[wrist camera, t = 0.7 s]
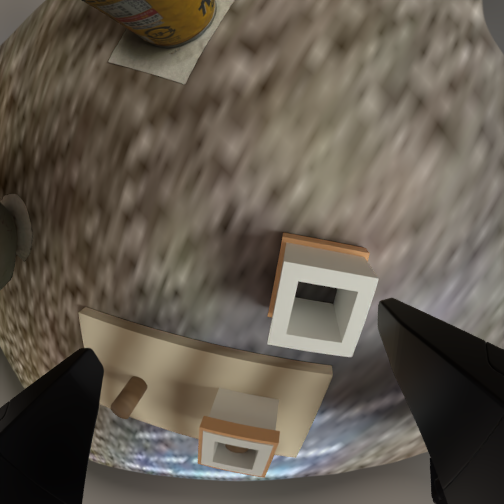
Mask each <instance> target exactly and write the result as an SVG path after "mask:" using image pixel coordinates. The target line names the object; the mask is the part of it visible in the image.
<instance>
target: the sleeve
mask: <svg viewBox="0 0 504 504" xmlns="http://www.w3.org/2000/svg"><path fill="white" fill-rule="evenodd" d="M369 254H370V253H369V252H368V251H367V249H366V248H362V247H357V246H352V245H347V244H342V243H337V242H332V241H327V240H321V239H316V238H311V237H305V236H300V235H295V234H289V233H284V232H283V237H282V242H281V248H280V253H279V259H278V264H277V270H276V275H275V280H274V286H273V291H272V296H271V301H270V307H269V312H268V317H272V320H271V326H270V331H269V337H268V342H267V344H269V345H274V346H280V347H285V348H291V349H297V350H303V351H310V352H316V353H323V354H330V355H337V356H345V357H352V355H353V353H354V350H355V348H356V345H357V342H358V340H359V337H360V334H361V331H362V329H363V326H364V323H365V320H366V317H367V314H368V311H369V308H370V305H371V302H372V299H373V296H374V293H375V289H376V286H377V283H378V280H379V278H378V277H377V275H376V274H375V272H374V271H373V269H372V268H371V266H370V265H369V263H368V258H369ZM298 281H300V282H305V283H311V284H316V285H322V286H328V287H333V288H337V292H336V296H335V299H334V303H333V304H331V303H325V302H320V301H314V300H308V299H302V298H297V297H295V294H296V289H297V285H298Z"/></svg>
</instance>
